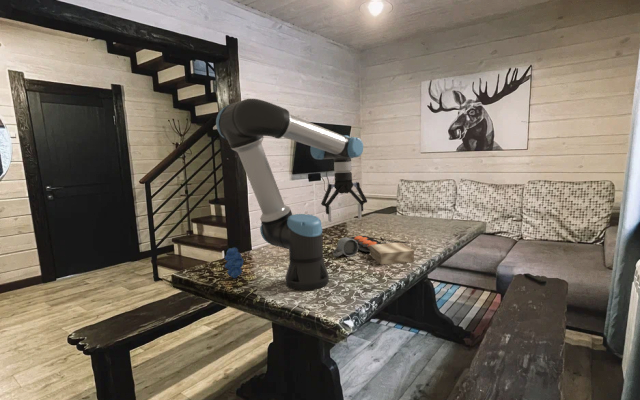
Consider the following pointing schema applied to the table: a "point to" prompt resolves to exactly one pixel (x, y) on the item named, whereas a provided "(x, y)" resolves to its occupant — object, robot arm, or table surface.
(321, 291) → the table surface
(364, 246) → the sushi plate
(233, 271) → the grapes
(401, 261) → the birch block
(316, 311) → the table surface
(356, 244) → the ceramic mug
